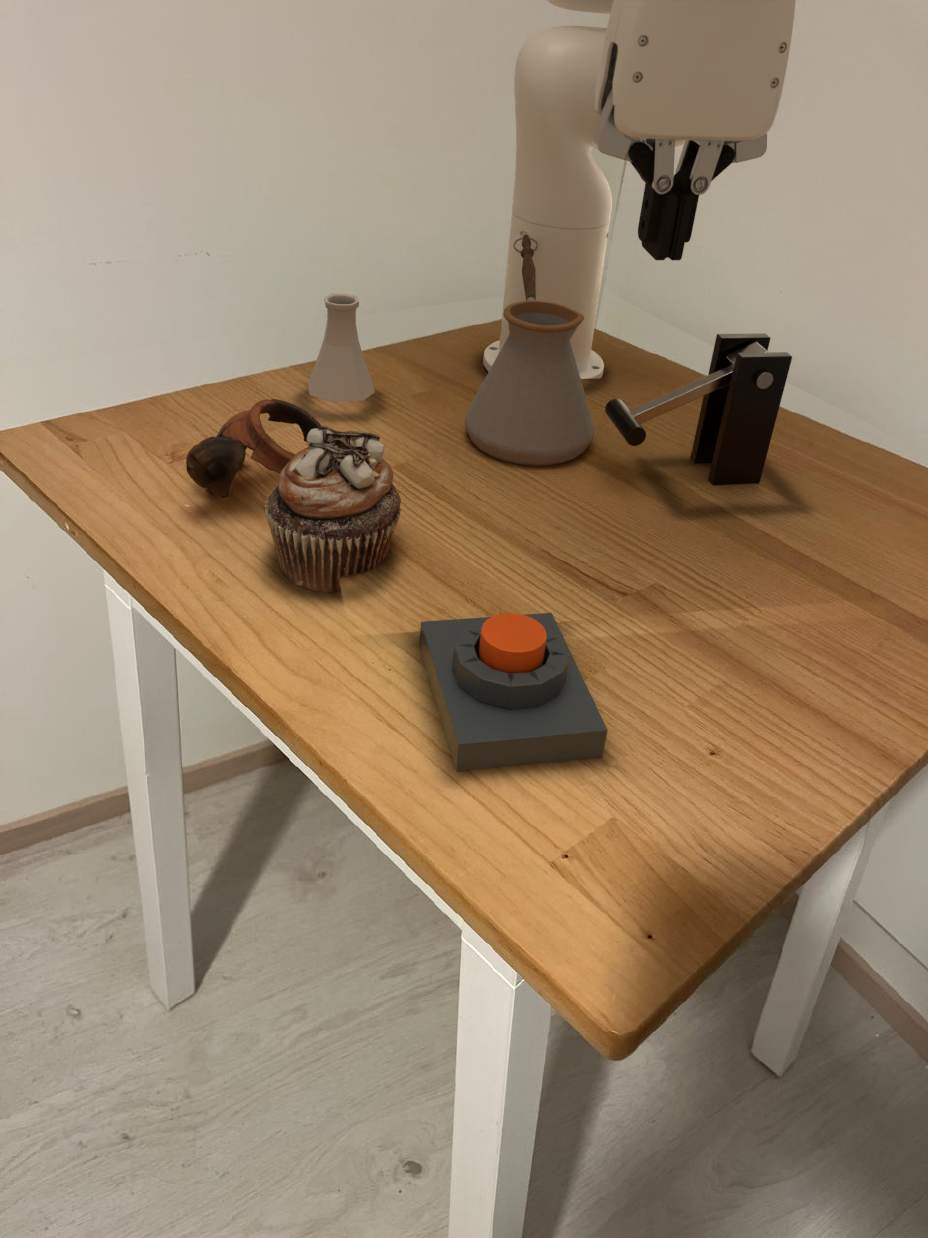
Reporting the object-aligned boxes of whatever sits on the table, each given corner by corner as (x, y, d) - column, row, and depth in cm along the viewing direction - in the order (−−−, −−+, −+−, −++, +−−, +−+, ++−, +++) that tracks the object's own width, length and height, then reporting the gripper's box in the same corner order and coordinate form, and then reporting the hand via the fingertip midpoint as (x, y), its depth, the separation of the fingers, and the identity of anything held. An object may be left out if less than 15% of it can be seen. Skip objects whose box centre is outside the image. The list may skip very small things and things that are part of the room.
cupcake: (275, 526, 83) (271, 406, 77) (400, 532, 84) (405, 414, 78) (257, 596, 75) (251, 468, 70) (396, 603, 76) (401, 477, 70)
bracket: (681, 513, 89) (713, 368, 82) (644, 463, 96) (670, 324, 89) (801, 507, 92) (842, 365, 84) (756, 458, 99) (791, 323, 91)
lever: (630, 453, 87) (622, 428, 85) (609, 423, 91) (601, 399, 90) (782, 384, 86) (777, 359, 85) (753, 358, 90) (748, 333, 89)
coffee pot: (599, 486, 92) (626, 316, 83) (465, 481, 91) (479, 308, 82) (566, 385, 109) (587, 235, 101) (454, 380, 108) (465, 228, 100)
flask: (313, 382, 106) (312, 281, 100) (385, 391, 105) (388, 290, 99) (294, 413, 100) (291, 307, 94) (370, 422, 99) (372, 317, 93)
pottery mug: (254, 454, 93) (299, 384, 89) (315, 535, 91) (364, 468, 87) (142, 466, 84) (185, 389, 79) (207, 557, 82) (256, 483, 77)
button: (472, 637, 67) (474, 614, 66) (533, 633, 68) (537, 610, 67) (487, 677, 64) (489, 654, 63) (551, 672, 65) (554, 649, 64)
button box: (419, 647, 72) (422, 598, 69) (547, 638, 74) (554, 590, 71) (455, 772, 62) (460, 720, 60) (602, 757, 64) (612, 706, 62)
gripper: (819, -88, 62) (745, 235, 73) (569, -107, 59) (532, 233, 70) (884, -75, 56) (793, 274, 67) (611, -96, 53) (563, 273, 64)
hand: (660, 252), depth 68 cm, fingers closed
